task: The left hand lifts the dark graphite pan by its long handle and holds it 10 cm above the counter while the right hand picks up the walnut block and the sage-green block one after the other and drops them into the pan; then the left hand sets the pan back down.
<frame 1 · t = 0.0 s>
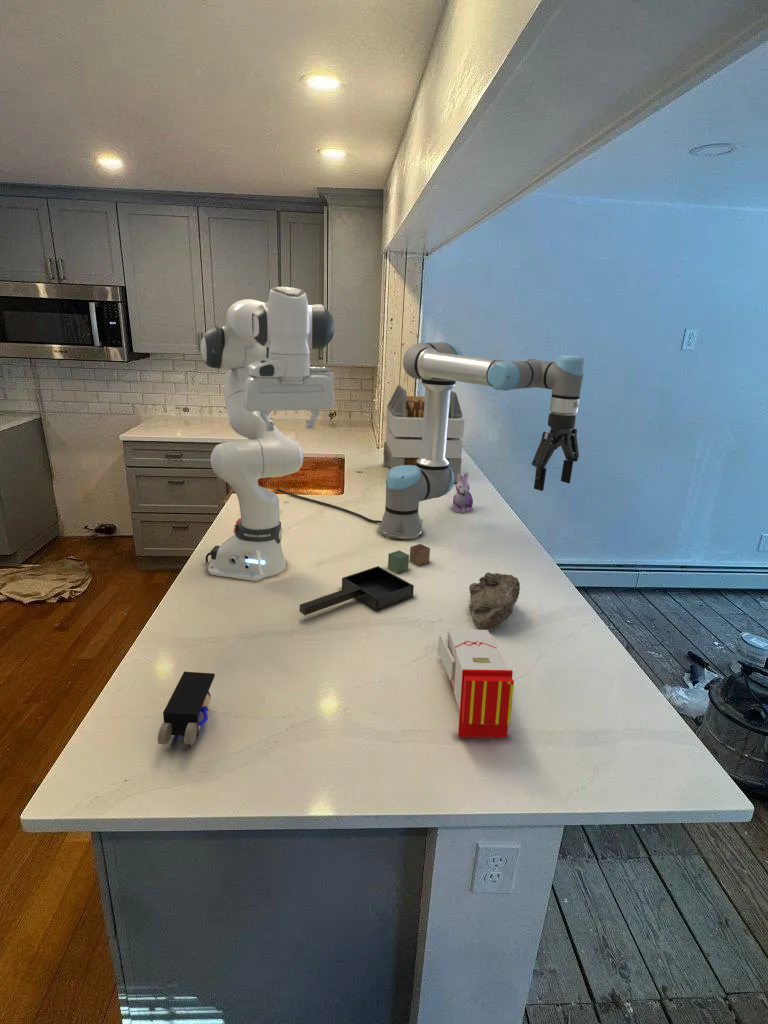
left hand: (290, 429, 128), 48 cm above the counter, fingers open, 8 cm apart
right hand: (552, 485, 166), 28 cm above the counter, fingers open, 13 cm apart
pan: (377, 593, 158), on the counter
figurine: (462, 509, 227), on the counter
green block: (397, 569, 173), on the counter
fossil: (491, 611, 151), on the counter
walnut block: (419, 562, 178), on the counter
feather: (278, 514, 213), on the counter
figurine character: (190, 728, 105), on the counter
toy: (469, 691, 119), on the counter
transformer: (419, 473, 275), on the counter
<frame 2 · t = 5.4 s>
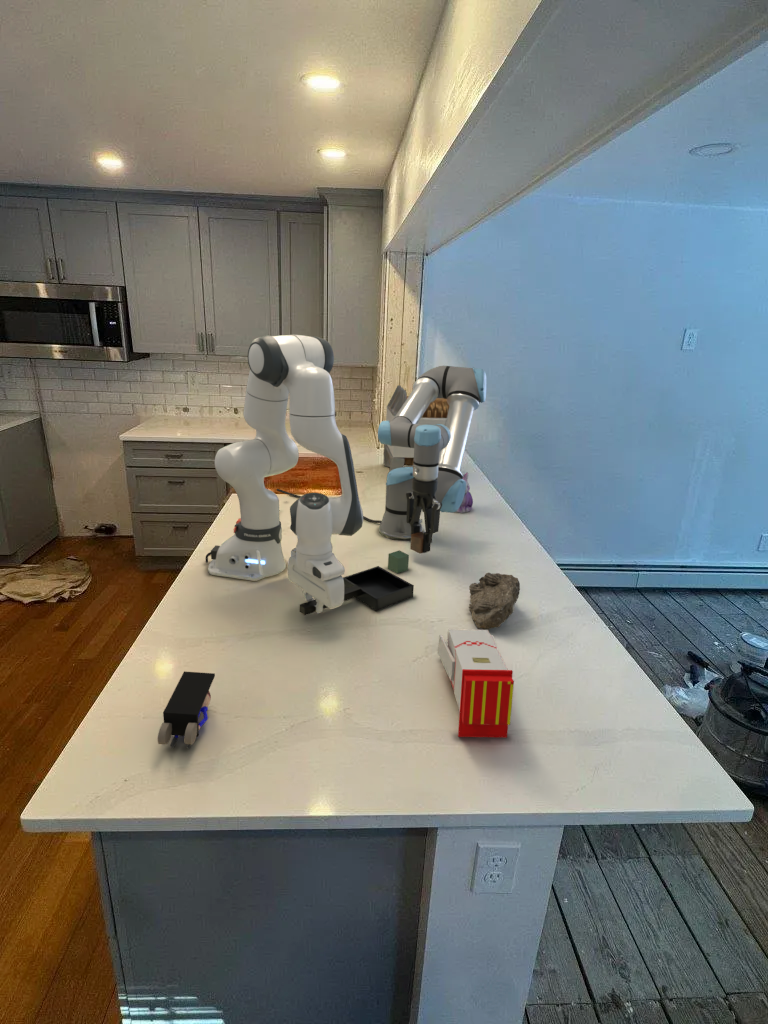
left hand: (314, 608, 144), 2 cm above the counter, fingers closed on pan, 2 cm apart
right hand: (420, 548, 177), 4 cm above the counter, fingers closed on walnut block, 4 cm apart
pan: (377, 593, 158), on the counter, touching left hand
walnut block: (420, 549, 177), point 4 cm above the counter, touching right hand
everything else where it was.
when the right hand's fingers open (16 cm above the counter, at t = 10.6 s): walnut block drops 6 cm, resting on pan.
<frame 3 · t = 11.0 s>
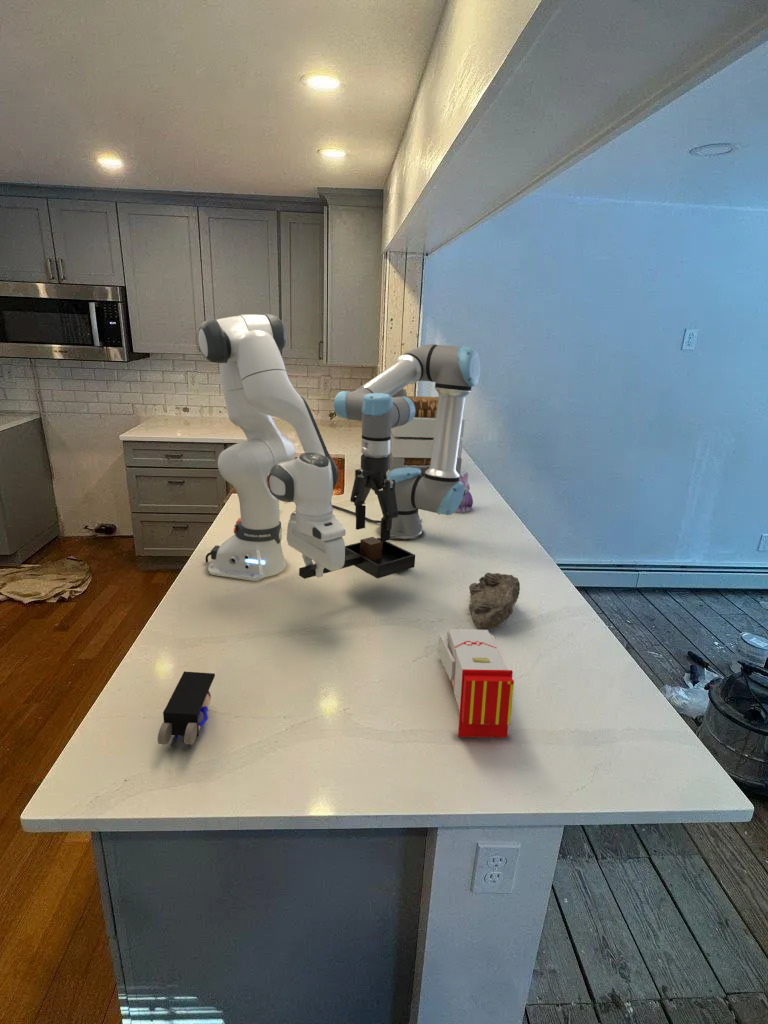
left hand: (314, 573, 141), 12 cm above the counter, fingers closed on pan, 2 cm apart
right hand: (372, 534, 154), 17 cm above the counter, fingers open, 10 cm apart
pan: (377, 563, 155), point 9 cm above the counter, touching left hand, walnut block
walnut block: (370, 557, 156), point 10 cm above the counter, touching pan
everything else where it was.
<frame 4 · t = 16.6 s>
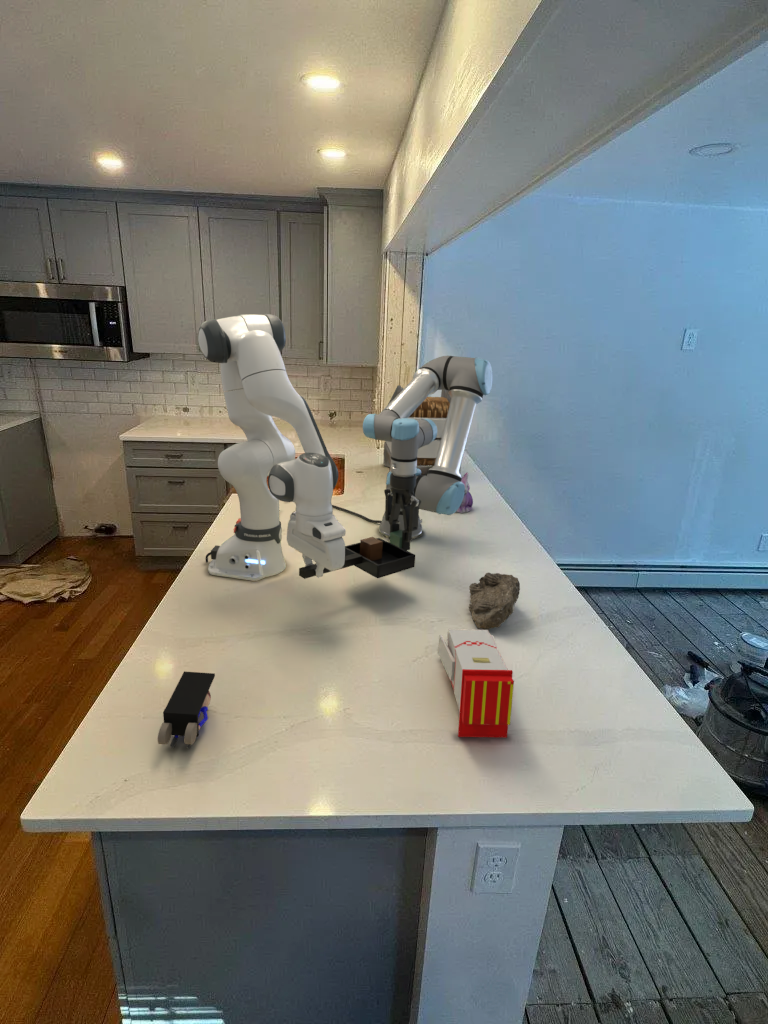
left hand: (314, 573, 141), 12 cm above the counter, fingers closed on pan, 2 cm apart
right hand: (400, 547, 171), 7 cm above the counter, fingers closed on green block, 4 cm apart
pan: (377, 563, 155), point 9 cm above the counter, touching left hand, walnut block
green block: (399, 548, 171), point 7 cm above the counter, touching right hand
everything else where it was.
when the right hand's fingers open (16 cm above the counter, at t = 19.7 s): green block drops 7 cm, resting on pan.
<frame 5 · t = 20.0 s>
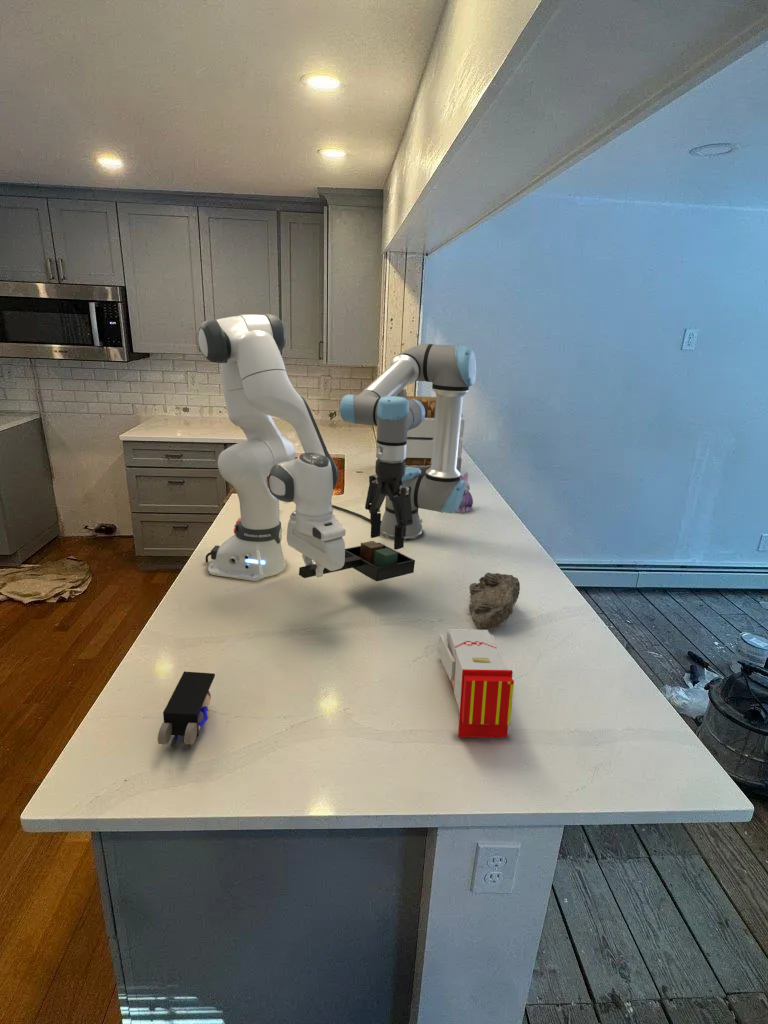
left hand: (314, 573, 141), 12 cm above the counter, fingers closed on pan, 2 cm apart
right hand: (386, 542, 150), 16 cm above the counter, fingers open, 9 cm apart
pan: (377, 567, 155), point 8 cm above the counter, tilted 5°, touching green block, left hand, walnut block
green block: (384, 569, 152), point 9 cm above the counter, tilted 5°, touching pan
walnut block: (370, 561, 157), point 9 cm above the counter, tilted 5°, touching pan
everything else where it was.
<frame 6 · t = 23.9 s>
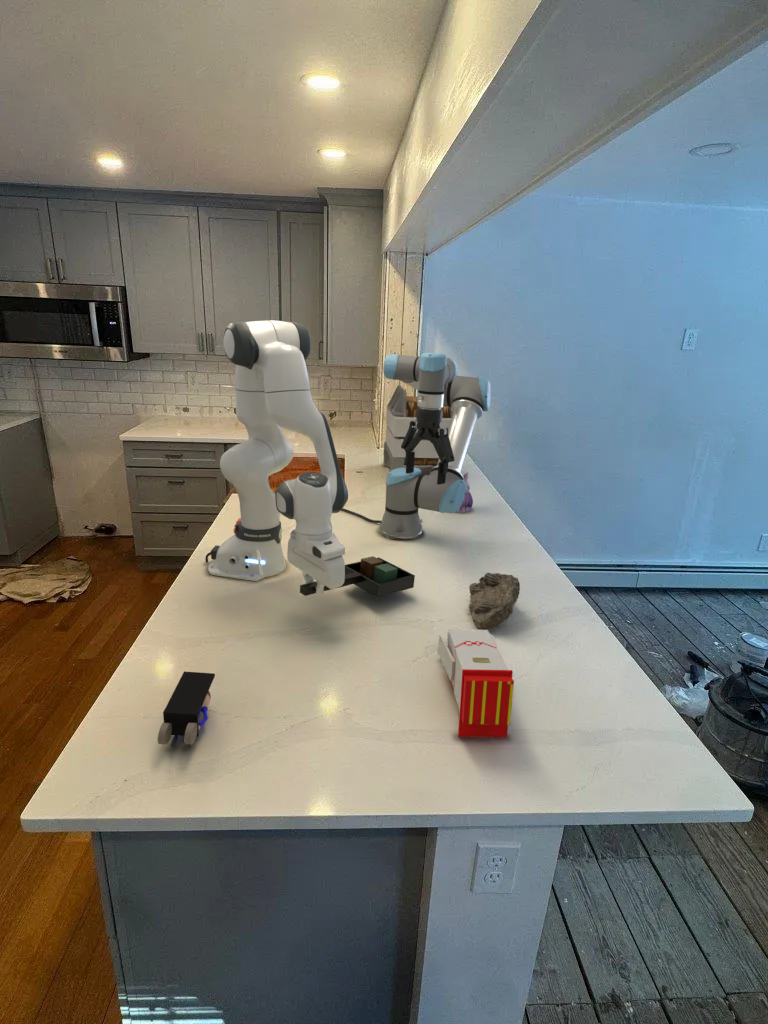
left hand: (314, 590, 142), 7 cm above the counter, fingers closed on pan, 2 cm apart
right hand: (424, 478, 172), 27 cm above the counter, fingers open, 13 cm apart
pan: (377, 582, 156), point 4 cm above the counter, touching green block, left hand, walnut block
green block: (384, 584, 154), point 4 cm above the counter, touching pan
walnut block: (370, 576, 158), point 4 cm above the counter, touching pan
everything else where it was.
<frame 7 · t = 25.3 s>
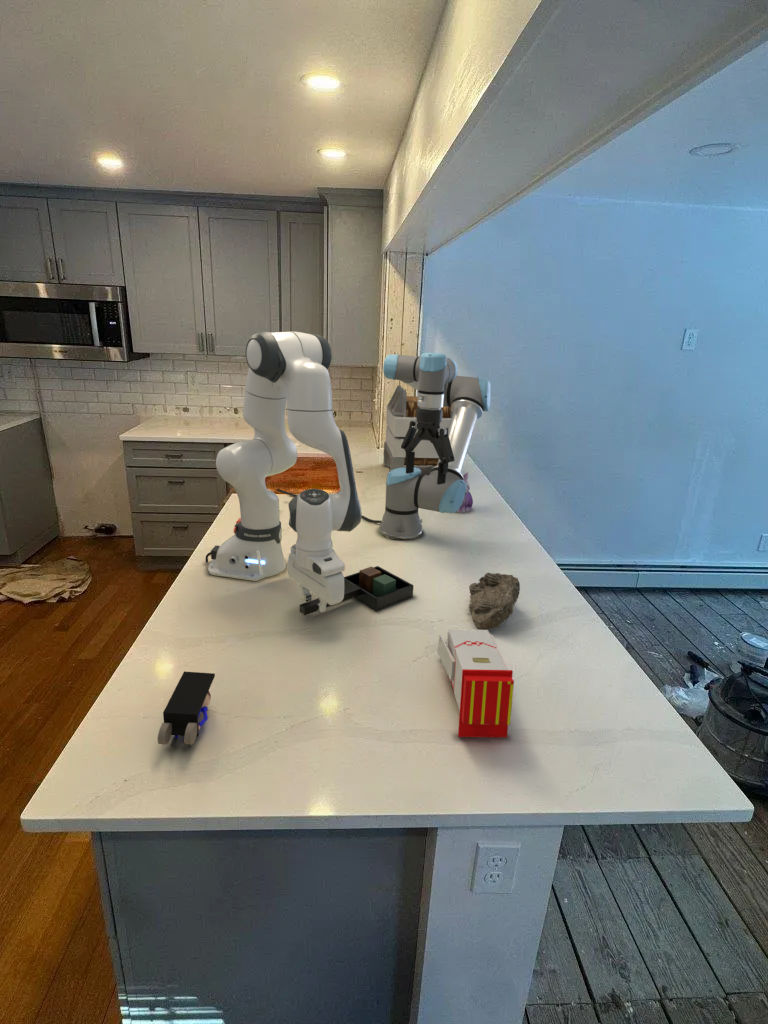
left hand: (314, 605, 144), 3 cm above the counter, fingers open, 5 cm apart
right hand: (424, 478, 172), 27 cm above the counter, fingers open, 13 cm apart
pan: (376, 593, 158), on the counter, touching green block, walnut block
green block: (383, 595, 155), point 1 cm above the counter, touching pan
walnut block: (369, 587, 160), point 1 cm above the counter, touching pan
everything else where it was.
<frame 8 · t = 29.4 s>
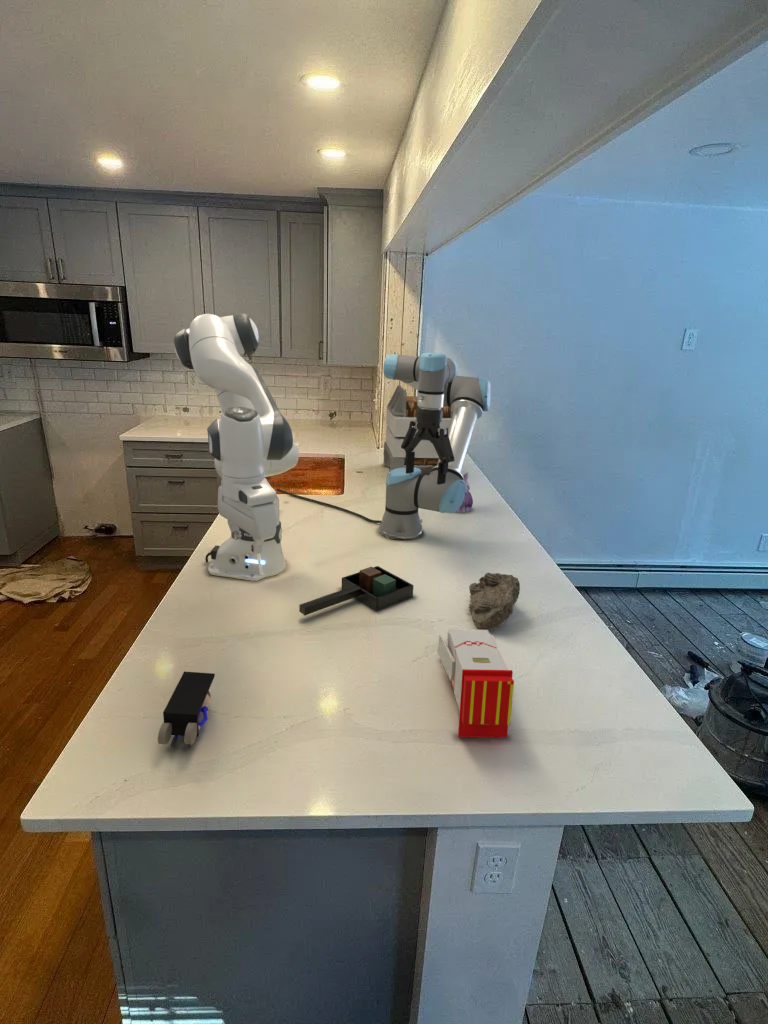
left hand: (246, 545, 125), 24 cm above the counter, fingers open, 8 cm apart
right hand: (424, 478, 172), 27 cm above the counter, fingers open, 13 cm apart
nothing on the counter moved.
at the end: walnut block inside the target area on the pan (3.0 cm from its centre), point 0.6 cm above the pan's base; green block inside the target area on the pan (3.1 cm from its centre), point 0.6 cm above the pan's base; the left hand is holding nothing; the right hand is holding nothing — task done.
